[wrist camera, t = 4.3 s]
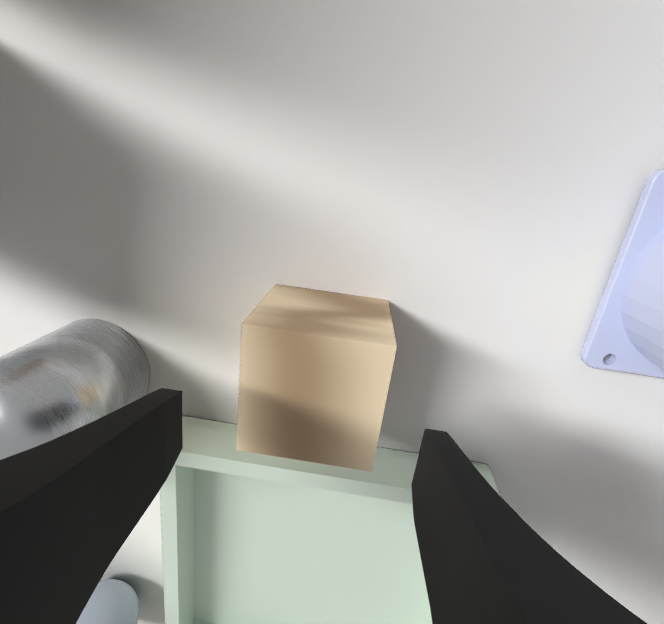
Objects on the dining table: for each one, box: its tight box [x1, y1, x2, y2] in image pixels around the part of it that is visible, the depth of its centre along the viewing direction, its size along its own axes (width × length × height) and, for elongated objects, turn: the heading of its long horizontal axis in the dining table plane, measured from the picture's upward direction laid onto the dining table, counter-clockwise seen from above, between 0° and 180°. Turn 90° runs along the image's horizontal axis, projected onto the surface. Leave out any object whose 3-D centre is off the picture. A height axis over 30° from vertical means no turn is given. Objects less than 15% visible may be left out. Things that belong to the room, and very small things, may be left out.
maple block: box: [236, 284, 397, 472], centre depth 15 cm, size 5×5×5 cm
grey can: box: [0, 319, 150, 460], centre depth 16 cm, size 5×5×6 cm
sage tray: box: [160, 416, 501, 624], centre depth 21 cm, size 16×16×2 cm
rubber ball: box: [76, 579, 139, 624], centre depth 22 cm, size 4×4×4 cm
